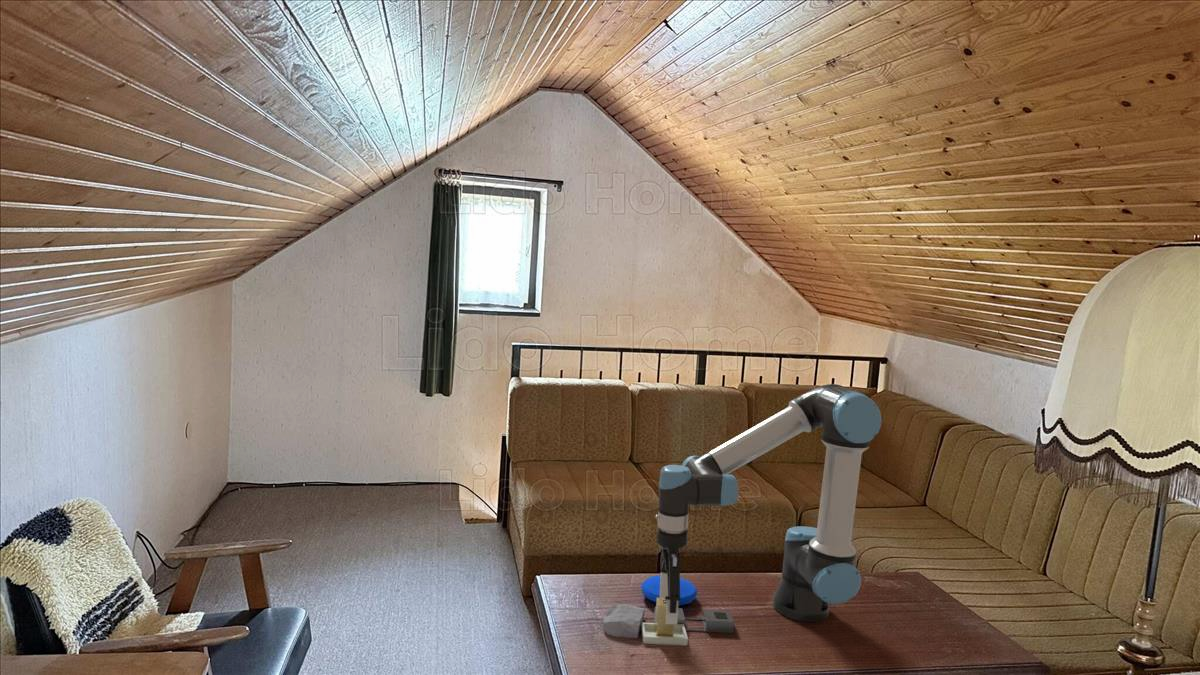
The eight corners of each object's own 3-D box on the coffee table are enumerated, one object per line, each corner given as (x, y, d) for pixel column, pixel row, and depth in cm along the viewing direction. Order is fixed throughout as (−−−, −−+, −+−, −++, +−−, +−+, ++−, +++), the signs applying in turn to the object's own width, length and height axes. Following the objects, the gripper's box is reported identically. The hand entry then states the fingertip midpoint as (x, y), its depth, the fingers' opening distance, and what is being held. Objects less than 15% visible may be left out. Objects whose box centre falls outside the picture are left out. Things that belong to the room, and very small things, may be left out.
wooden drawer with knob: (670, 631, 184) (673, 598, 183) (672, 640, 180) (675, 606, 179) (654, 631, 184) (656, 597, 183) (655, 639, 180) (658, 605, 179)
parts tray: (683, 631, 186) (683, 624, 185) (687, 645, 179) (687, 638, 178) (640, 629, 185) (641, 622, 185) (643, 643, 178) (643, 636, 178)
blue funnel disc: (634, 587, 209) (635, 564, 208) (686, 585, 212) (688, 562, 211) (648, 613, 193) (650, 588, 193) (704, 611, 196) (706, 586, 196)
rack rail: (728, 621, 192) (729, 610, 192) (733, 633, 186) (734, 621, 186) (653, 617, 191) (654, 606, 191) (656, 629, 186) (657, 618, 185)
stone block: (601, 641, 182) (640, 640, 180) (599, 623, 181) (638, 621, 180) (610, 620, 193) (646, 619, 191) (607, 603, 193) (644, 601, 191)
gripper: (652, 510, 191) (648, 586, 193) (662, 548, 166) (658, 635, 169) (680, 510, 191) (676, 587, 194) (695, 549, 166) (690, 636, 169)
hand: (668, 609), depth 181 cm, fingers open, 13 cm apart
